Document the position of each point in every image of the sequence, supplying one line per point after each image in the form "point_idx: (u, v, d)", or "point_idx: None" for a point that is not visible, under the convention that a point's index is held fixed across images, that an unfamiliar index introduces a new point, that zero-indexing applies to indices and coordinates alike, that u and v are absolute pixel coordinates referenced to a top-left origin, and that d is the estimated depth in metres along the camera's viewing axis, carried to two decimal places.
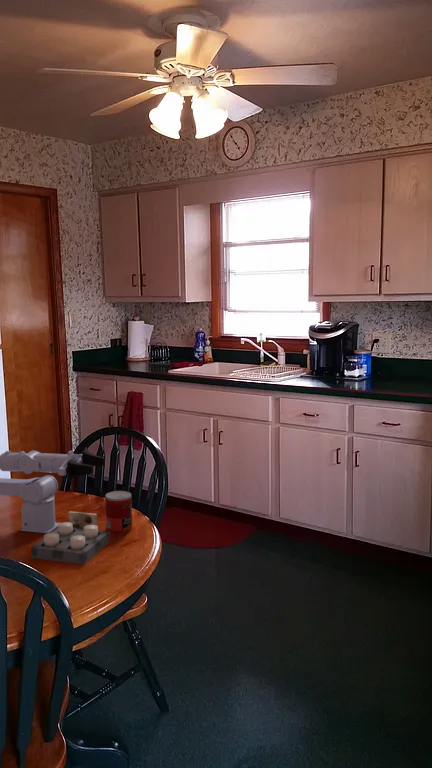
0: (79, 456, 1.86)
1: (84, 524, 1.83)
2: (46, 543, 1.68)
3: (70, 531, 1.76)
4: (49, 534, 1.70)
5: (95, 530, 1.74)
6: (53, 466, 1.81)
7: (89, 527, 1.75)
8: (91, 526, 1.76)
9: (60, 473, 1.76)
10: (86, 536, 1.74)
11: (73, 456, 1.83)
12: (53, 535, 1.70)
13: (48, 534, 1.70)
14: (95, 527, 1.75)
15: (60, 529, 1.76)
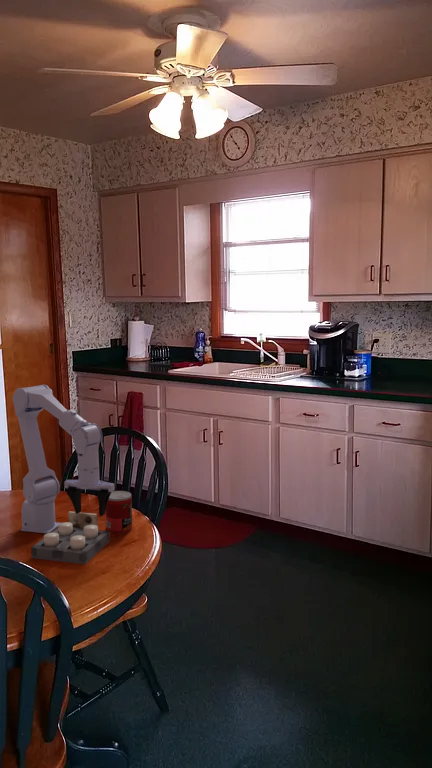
0: None
1: (84, 524, 1.83)
2: (46, 543, 1.68)
3: (70, 531, 1.76)
4: (49, 534, 1.70)
5: (95, 530, 1.74)
6: None
7: (89, 527, 1.75)
8: (91, 526, 1.76)
9: None
10: (86, 536, 1.74)
11: None
12: (53, 535, 1.70)
13: (48, 534, 1.70)
14: (95, 527, 1.75)
15: (60, 529, 1.76)
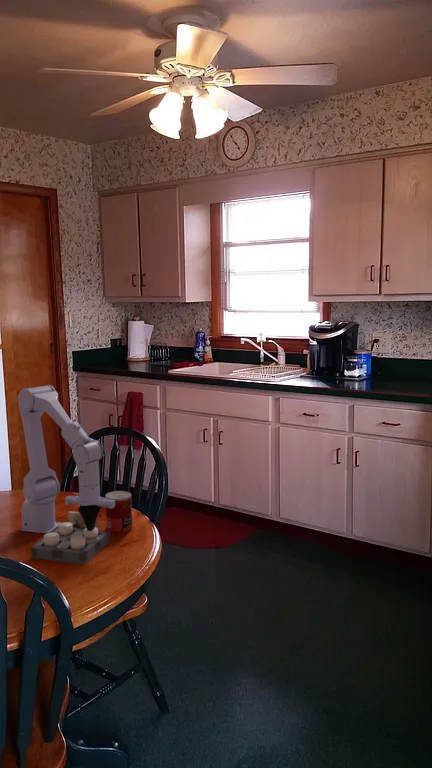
0: None
1: (84, 524, 1.83)
2: (46, 543, 1.68)
3: (70, 531, 1.76)
4: (49, 534, 1.70)
5: (95, 532, 1.74)
6: None
7: None
8: None
9: None
10: None
11: None
12: (53, 535, 1.70)
13: (48, 534, 1.70)
14: (95, 529, 1.75)
15: (60, 529, 1.76)
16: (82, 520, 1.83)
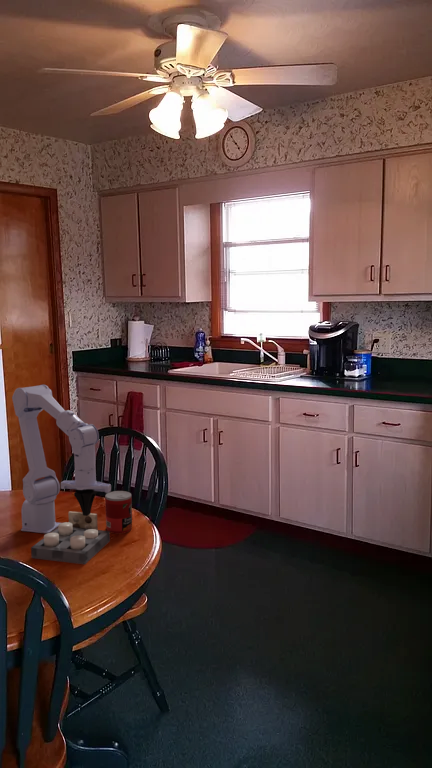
0: None
1: (84, 524, 1.83)
2: (46, 543, 1.68)
3: (70, 531, 1.76)
4: (49, 534, 1.70)
5: (95, 534, 1.74)
6: None
7: (89, 531, 1.75)
8: (92, 530, 1.76)
9: None
10: None
11: None
12: (53, 535, 1.70)
13: (48, 534, 1.70)
14: (95, 531, 1.75)
15: (60, 529, 1.76)
16: (82, 520, 1.83)
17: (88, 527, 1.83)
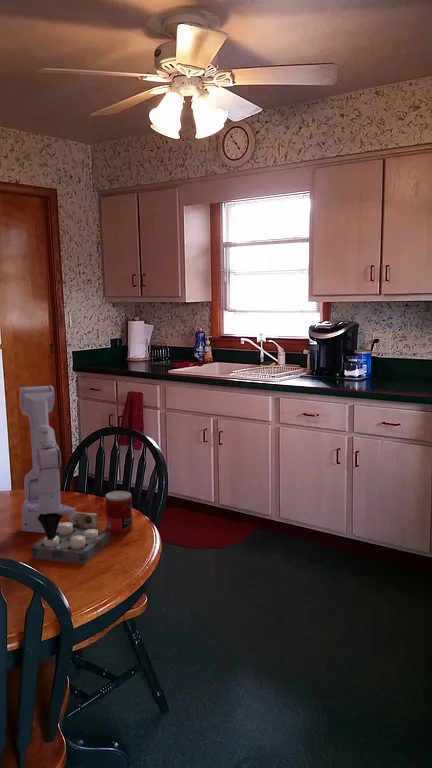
0: None
1: (84, 524, 1.83)
2: (46, 546, 1.68)
3: (70, 531, 1.76)
4: None
5: (95, 534, 1.74)
6: None
7: (89, 531, 1.75)
8: (92, 530, 1.76)
9: None
10: None
11: None
12: None
13: None
14: (95, 531, 1.75)
15: (60, 529, 1.76)
16: (82, 520, 1.83)
17: (88, 527, 1.83)
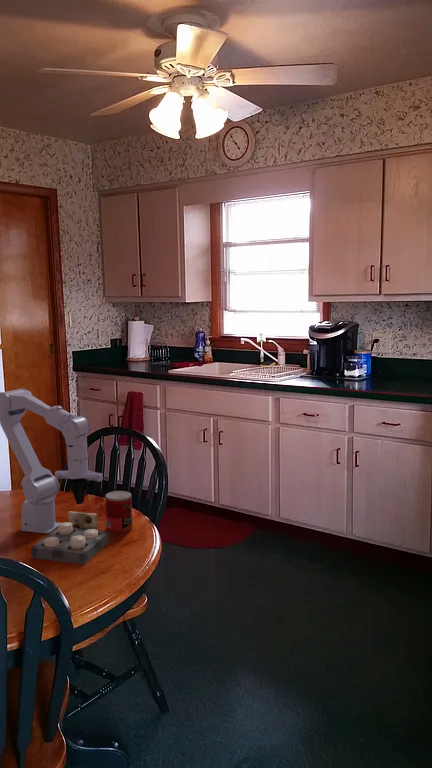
0: None
1: (84, 524, 1.83)
2: None
3: (70, 531, 1.76)
4: (49, 538, 1.70)
5: (95, 534, 1.74)
6: None
7: (89, 531, 1.75)
8: (92, 530, 1.76)
9: None
10: None
11: None
12: (53, 539, 1.70)
13: (48, 538, 1.70)
14: (95, 531, 1.75)
15: (60, 529, 1.76)
16: (82, 520, 1.83)
17: (88, 527, 1.83)
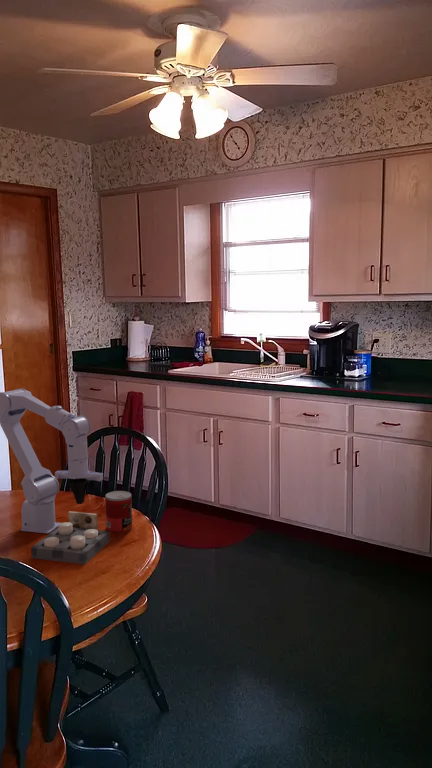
0: None
1: (84, 524, 1.83)
2: None
3: (70, 531, 1.76)
4: (49, 538, 1.70)
5: (95, 534, 1.74)
6: None
7: (89, 531, 1.75)
8: (92, 530, 1.76)
9: None
10: None
11: None
12: (53, 539, 1.70)
13: (48, 538, 1.70)
14: (95, 531, 1.75)
15: (60, 529, 1.76)
16: (82, 520, 1.83)
17: (88, 527, 1.83)
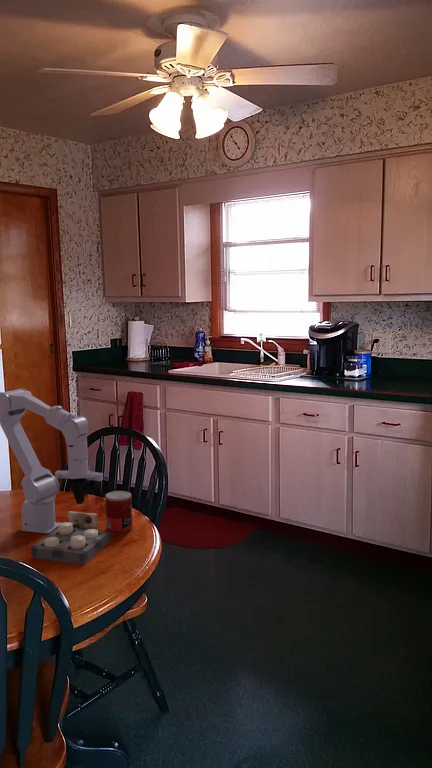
0: None
1: (84, 524, 1.83)
2: None
3: (70, 531, 1.76)
4: (49, 538, 1.70)
5: (95, 534, 1.74)
6: None
7: (89, 531, 1.75)
8: (92, 530, 1.76)
9: None
10: None
11: None
12: (53, 539, 1.70)
13: (48, 538, 1.70)
14: (95, 531, 1.75)
15: (60, 529, 1.76)
16: (82, 520, 1.83)
17: (88, 527, 1.83)
